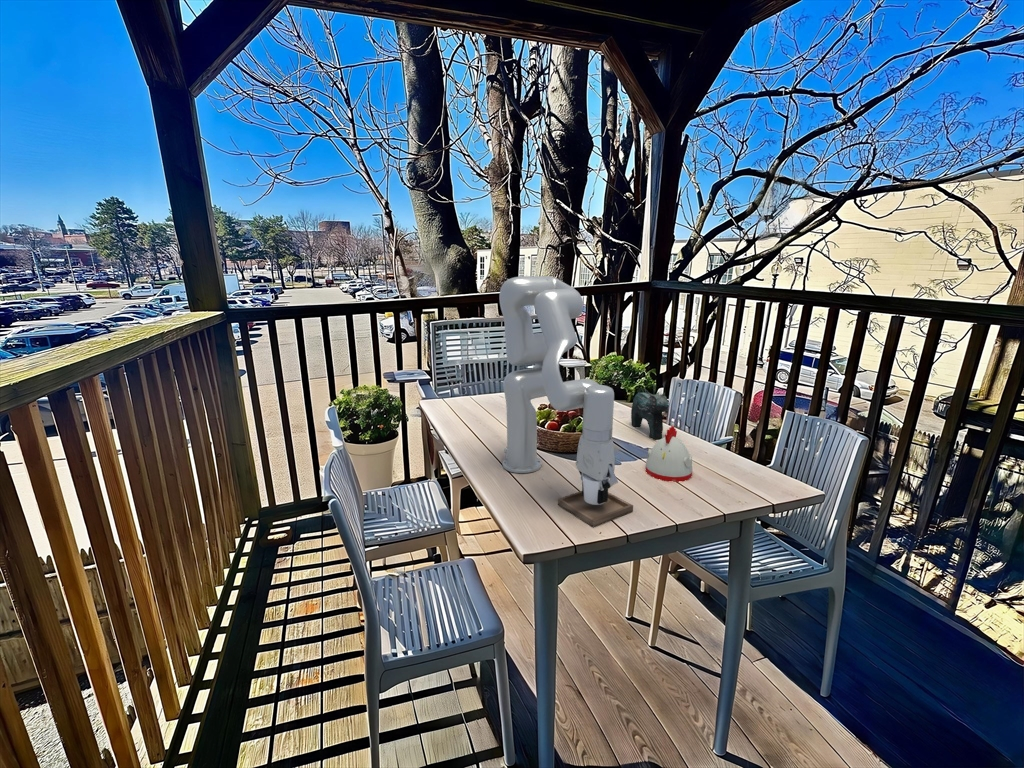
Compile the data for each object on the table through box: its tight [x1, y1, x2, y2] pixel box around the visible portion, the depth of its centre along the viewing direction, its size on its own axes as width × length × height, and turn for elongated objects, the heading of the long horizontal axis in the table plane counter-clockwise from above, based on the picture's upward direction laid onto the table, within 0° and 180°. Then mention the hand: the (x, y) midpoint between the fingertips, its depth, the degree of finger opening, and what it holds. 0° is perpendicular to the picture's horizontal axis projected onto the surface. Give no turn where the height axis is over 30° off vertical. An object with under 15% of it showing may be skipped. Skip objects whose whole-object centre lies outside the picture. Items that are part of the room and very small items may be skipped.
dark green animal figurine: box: [630, 383, 669, 441], centre depth 182 cm, size 20×6×20 cm, turn 14°
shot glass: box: [583, 473, 607, 505], centre depth 126 cm, size 7×7×7 cm
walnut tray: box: [557, 490, 634, 528], centre depth 127 cm, size 14×14×2 cm
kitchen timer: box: [645, 425, 693, 483], centre depth 148 cm, size 14×14×15 cm
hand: (594, 497), depth 127 cm, fingers closed on shot glass, 5 cm apart
